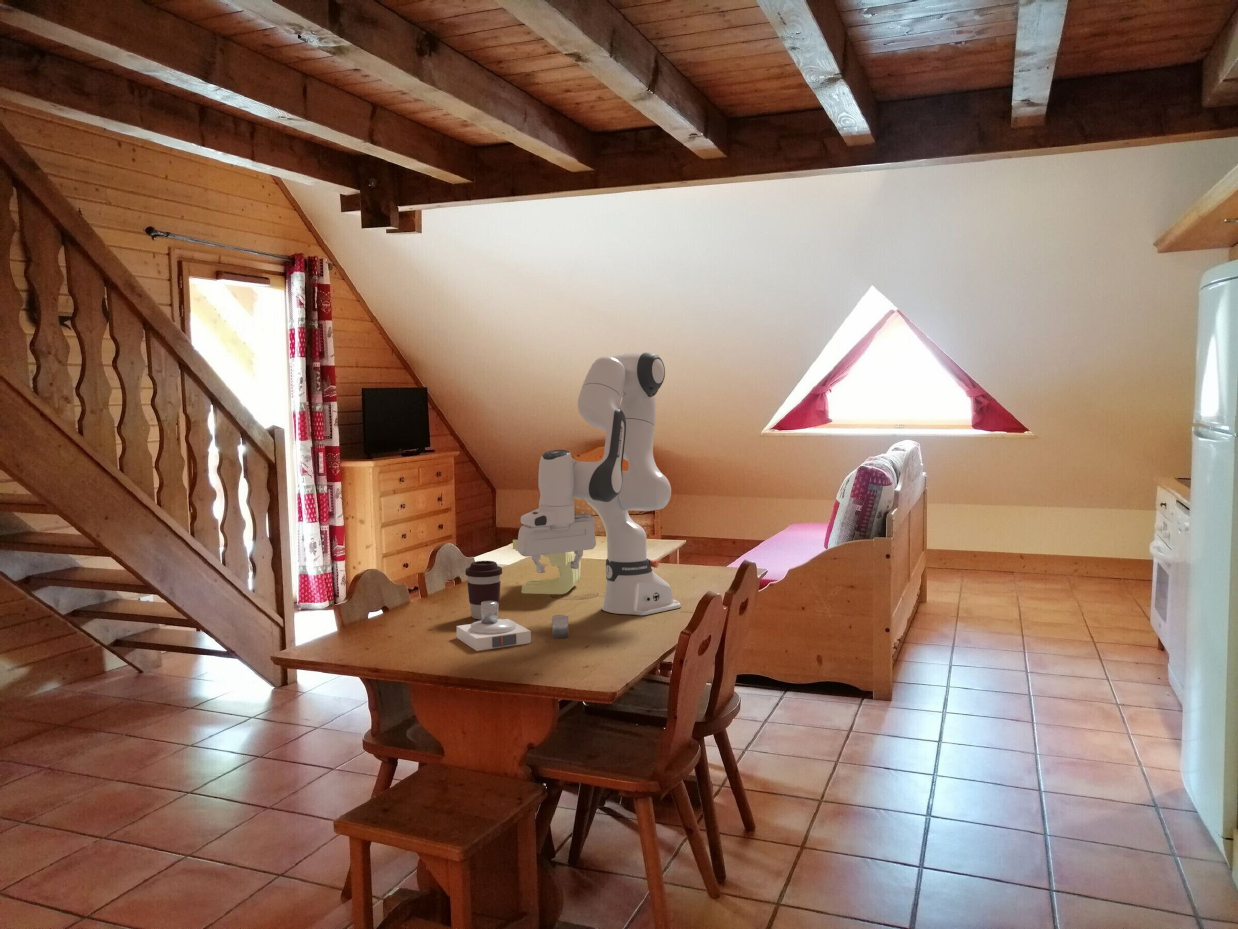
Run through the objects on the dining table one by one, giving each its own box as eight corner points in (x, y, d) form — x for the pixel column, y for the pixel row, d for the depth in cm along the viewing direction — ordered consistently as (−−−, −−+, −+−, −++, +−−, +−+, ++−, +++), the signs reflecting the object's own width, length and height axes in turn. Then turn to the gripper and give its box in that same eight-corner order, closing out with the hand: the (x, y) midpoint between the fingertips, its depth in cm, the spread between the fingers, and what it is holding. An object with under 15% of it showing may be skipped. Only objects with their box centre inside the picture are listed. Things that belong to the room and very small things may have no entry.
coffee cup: (468, 622, 252) (467, 567, 251) (464, 614, 262) (463, 560, 261) (505, 619, 255) (504, 564, 254) (500, 611, 264) (499, 558, 263)
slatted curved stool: (566, 600, 277) (565, 540, 276) (513, 599, 280) (512, 539, 279) (586, 580, 307) (586, 525, 305) (538, 579, 310) (538, 525, 308)
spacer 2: (564, 633, 240) (563, 614, 240) (571, 637, 237) (570, 617, 236) (549, 635, 238) (549, 616, 238) (556, 639, 235) (556, 619, 234)
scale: (508, 630, 244) (508, 615, 243) (531, 643, 231) (531, 627, 231) (456, 637, 237) (456, 622, 236) (477, 651, 224) (477, 635, 224)
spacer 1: (494, 619, 239) (493, 600, 238) (499, 623, 235) (499, 603, 235) (479, 621, 237) (478, 601, 236) (484, 625, 233) (484, 605, 233)
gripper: (588, 510, 243) (589, 563, 244) (514, 517, 233) (515, 572, 234) (599, 513, 237) (600, 568, 239) (524, 520, 228) (525, 577, 229)
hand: (558, 570), depth 237 cm, fingers open, 8 cm apart
